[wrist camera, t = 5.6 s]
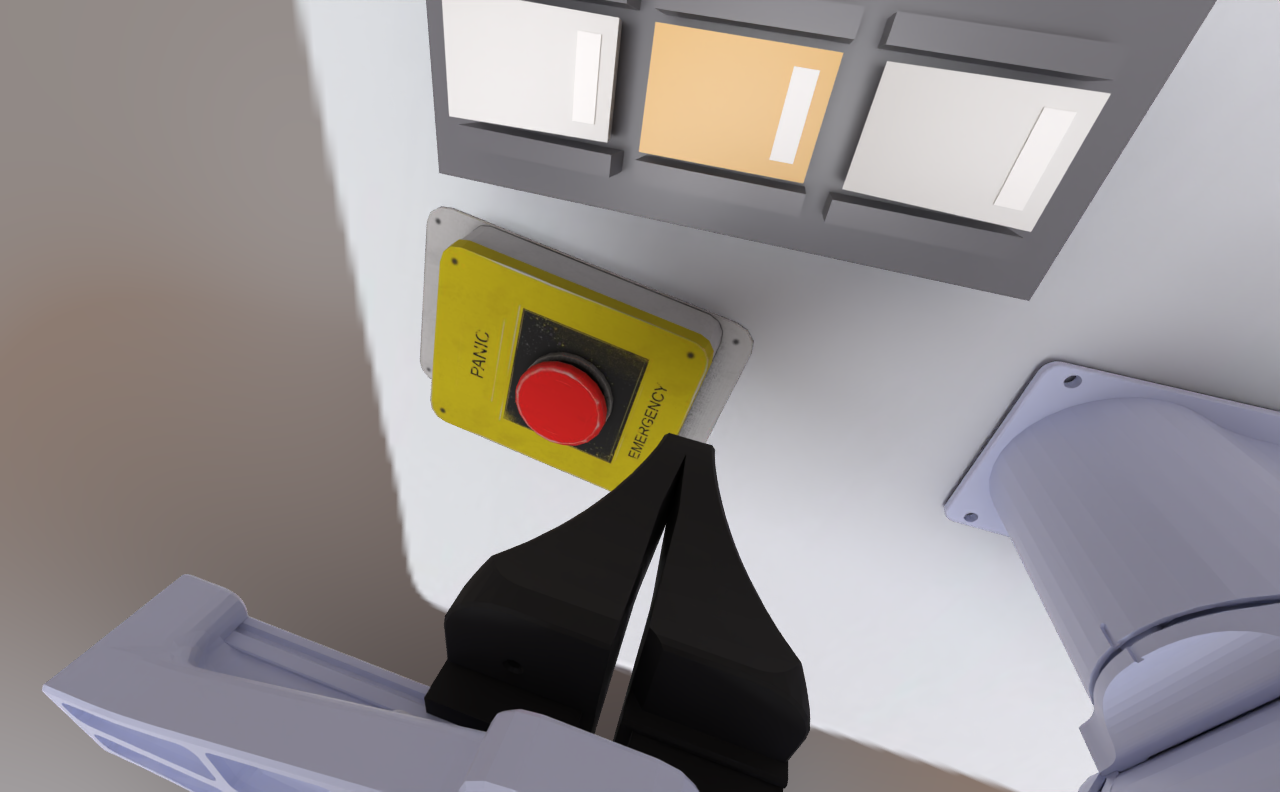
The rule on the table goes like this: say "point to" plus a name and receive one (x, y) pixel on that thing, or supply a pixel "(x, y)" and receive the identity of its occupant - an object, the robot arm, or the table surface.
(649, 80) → the rocker amber
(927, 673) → the table surface
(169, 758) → the robot arm
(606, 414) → the emergency button
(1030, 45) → the switch strip
